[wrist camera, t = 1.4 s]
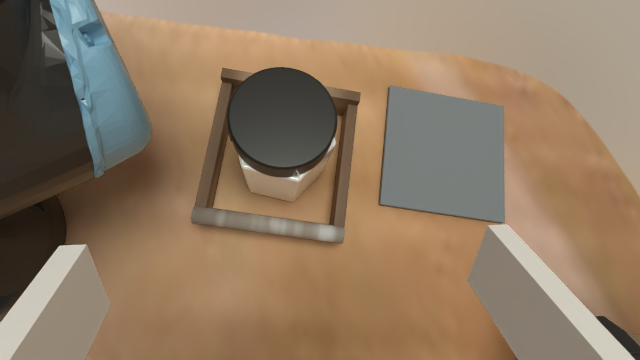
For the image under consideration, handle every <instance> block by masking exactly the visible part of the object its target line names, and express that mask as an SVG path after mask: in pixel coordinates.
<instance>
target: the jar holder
mask: <svg viewBox="0 0 640 360" xmlns="http://www.w3.org/2000/svg"><path fill="white" fill-rule="evenodd" d="M252 74H254V73H249V72H243V71H238V70H232V69H226V68H222V73H221V80H222V85H221V89H220V94H219V98H218V103H217V107H216V112H215V116H214V121H213V125H212V130H211V135H210V139H209V144H208V148H207V153H206V157H205V162H204V166H203V171H202V175H201V180H200V185H199V189H198V194H197V198H196V203H195V207H194V208H193V211H192V216H191V222H192V223H195V224H203V225H210V226H217V227H224V228H232V229H239V230H246V231H254V232H261V233H268V234H275V235H283V236H290V237H297V238H304V239H312V240H319V241H326V242H333V243H341V244H342V243H343V239H344V232H345V230H344V225H345V216H346V207H347V197H348V188H349V179H350V170H351V160H352V151H353V142H354V132H355V123H356V114H357V106H358V104H359V102H360V92H355V91H349V90H343V89H338V88H332V87H327V86H324V87H325V88H326V89H327V91H328V92H329V93H330V95H331V97H332V99H333V101H334V104H335V107H336V111H337V115H340V116H343V117H342V125H341V134H340V142H339V151H338V159H337V168H336V176H335V184H334V193H333V201H332V210H331V218H330V225H327V224H320V223H313V222H306V221H299V220H292V219H285V218H278V217H271V216H264V215H257V214H250V213H243V212H236V211H229V210H222V209H215V208H213V203H214V198H215V194H216V189H217V184H218V179H219V174H220V169H221V165H222V160H223V155H224V150H225V145H226V140H227V136H228V127H227V110H228V105H229V102H230V99H231V97H232V95H233V93H234V91H235V90H236V88H237V87H238V86H239V85H240V84H241V83H242V82H243V81H244V80H245V79H246V78H248V77H249V76H251V75H252Z"/></svg>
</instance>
